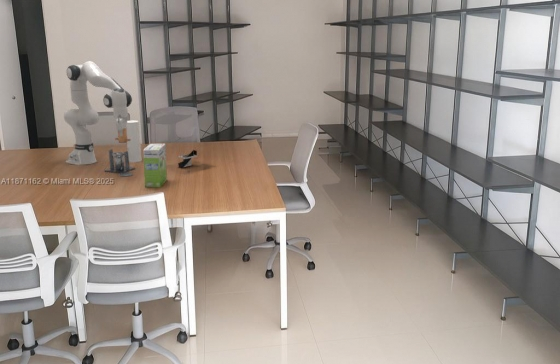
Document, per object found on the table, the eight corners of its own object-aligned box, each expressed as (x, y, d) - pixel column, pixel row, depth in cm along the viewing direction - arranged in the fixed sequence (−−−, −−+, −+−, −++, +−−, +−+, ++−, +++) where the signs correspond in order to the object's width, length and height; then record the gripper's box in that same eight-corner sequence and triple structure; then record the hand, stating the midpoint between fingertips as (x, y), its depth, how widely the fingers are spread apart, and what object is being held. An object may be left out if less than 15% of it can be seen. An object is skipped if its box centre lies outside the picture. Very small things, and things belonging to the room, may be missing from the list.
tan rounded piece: (113, 142, 348) (112, 128, 346) (118, 140, 354) (117, 127, 351) (127, 143, 345) (126, 129, 342) (132, 141, 350) (131, 128, 348)
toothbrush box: (161, 187, 328) (158, 149, 321) (144, 187, 328) (141, 149, 321) (168, 179, 345) (165, 143, 338) (152, 179, 345) (149, 143, 338)
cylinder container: (138, 162, 388) (134, 122, 380) (126, 162, 390) (122, 121, 381) (143, 159, 397) (140, 119, 388) (132, 159, 399) (128, 119, 390)
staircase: (178, 168, 374) (177, 151, 371) (189, 165, 382) (189, 148, 378) (186, 170, 369) (185, 153, 365) (197, 167, 376) (196, 150, 372)
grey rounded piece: (116, 176, 354) (116, 175, 353) (125, 172, 361) (125, 171, 361) (127, 177, 350) (126, 176, 350) (135, 174, 358) (135, 173, 358)
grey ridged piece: (104, 171, 364) (102, 151, 360) (118, 166, 377) (116, 147, 373) (121, 174, 358) (120, 153, 354) (135, 169, 371) (133, 149, 367)
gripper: (123, 116, 335) (124, 138, 338) (128, 111, 354) (129, 132, 358) (112, 116, 334) (114, 138, 338) (118, 111, 353) (120, 132, 357)
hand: (122, 135), depth 348 cm, fingers closed on tan rounded piece, 6 cm apart
